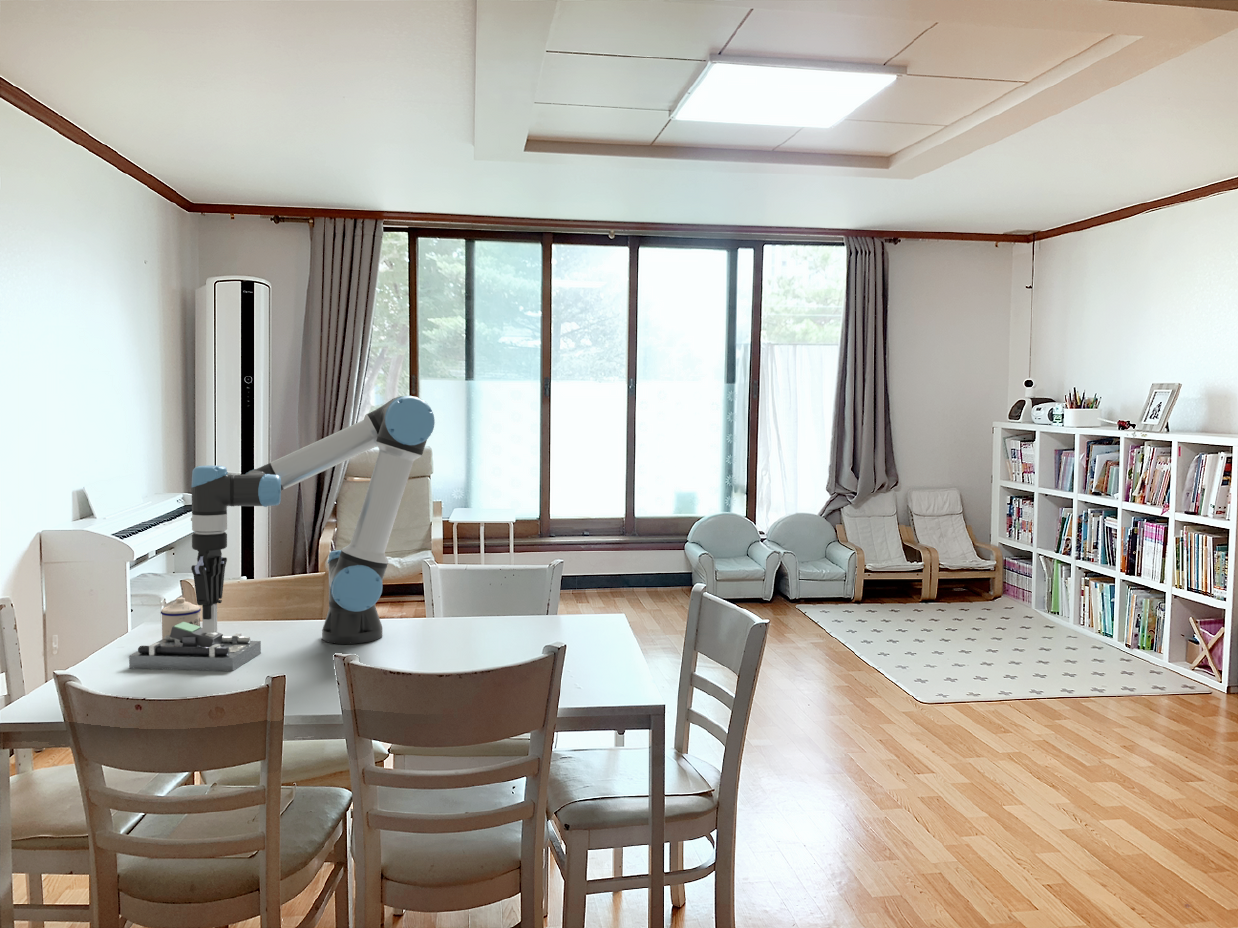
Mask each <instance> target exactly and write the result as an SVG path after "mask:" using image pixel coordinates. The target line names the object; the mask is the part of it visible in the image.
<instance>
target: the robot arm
mask: <svg viewBox="0 0 1238 928" xmlns="http://www.w3.org/2000/svg"><path fill="white" fill-rule="evenodd" d="M363 417H364V418H363V419H362V420H361V421H358V422H357V423H354V424H352V425H349V426H347V427H345V428H342V429H341V430H339V431H336V432H334V433H331V434H330V435H327V436H325V437H323V438H321V439H319V440H317V441H314V442H312V443H310V444H308V445H306V446H304V447H301V448H299V449H297V450H294V451H292V452H290V453H288V454H286V455H284V456H282V457H280V458H277V459H274V460H273V461H270V463H269V462H268V463H267V464H264V465H262V466H261V467H257V468H253V469H251V470H249V471H248V472H246V473H245V474H231V473H228V469H227V467H226V466H224V465H199V466H196V467H194V468H193V469H192V472H191V473H192V475H191V488H190V489H191V518H190V521H191V530H192V531H193V533H192V535H191V548H192V550H195V551H197V552H198V553H197V558H196V561H197V563H196V565H195V564H193V565H191V572H192V575H193V580H194V583H193V584H194V588H195V589H194V590H195V599H196V605H198V606H202V609H201V610H202V611H201V613H202V615H201V616H202V618H201V619H202V626H201V628H202V633H215V632H218V604H221V603H222V602H223V600H222V599H223V592H224V590H223V589H224V581H225V570H226V565H227V562H228V558H227V557H223V554H222V550H225V549H226V548H227V547H228V533H227V532H226V531H227V530H228V509H227V508H228V507H264V508H267V507H272V506H273V507H274V506H275V507H276V506H279V505H280V504H281V501H282V498H281V497H282V491H284V490H285V489H289V488H291V487H292V486H294V485H296V484H299V483H302V482H304V481H305V480H309V478H311V477H313V476H316V475H318V474H320V473H323V472H325V471H327V470H329V469H331V468H333V467H336V466H338V465H339V464H342V463H344V462H346V461H348V460H351V459H352V458H355V457H357V456H360V455H362V454H363V453H365V452H367V451H370V450H372V449H374V448H378V450H379V451H378V455H377V458H376V461H375V463H374V464H375V465H374V468H373V471H372V473H371V478H370V481H369V483H368V486H367V489H366V492H365V495H364V499H363V502H362V505H361V508H360V512H359V515H358V518H357V521H356V524H355V528H354V530H353V533H352V537H351V540H350V543H349V544H348V545H346V546H344V547H342V548H341V549H338V550H336V549H335V550H331V551H330V552H329V554H328V559H327V564H328V611H327V615H326V617H325V620H324V623H323V627H322V630H321V631H322V632H321V639H322V641H324V642H326V643H331V644H335V645H336V644H337V645H339V644H340V645H353V644H354V645H356V644H363V643H369V642H372V641H373V642H374V641H376V640H379V639H380V638H381V639H382V637H383V625H382V621H381V619H380V616H379V614H378V610H377V606H376V603H377V602H379V599H380V598H381V595H382V594H383V587H384V586H383V581H384V577H385V574H386V570H387V567H388V566H389V565H388V564H389V559H388V557H387V556H386V550H387V546H388V544H389V541H390V537H391V534H392V532H393V528H394V524H395V521H396V518H397V515H398V512H399V509H400V506H401V502H402V499H403V496H404V493H405V490H406V486H407V485H408V481H409V477H410V473H411V471H412V468H413V464H414V462H415V461H416V460H417V459H419V458H421V457H423V453H424V451H425V447H426V445H427V442H428V439H429V438H430V437H431V436H432V434H433V431H434V430H435V429H434V428H435V425H436V424H435V423H436V422H435V415H434V412H433V410H432V408H431V406H430V405H429V404H428V403H427V401H425V400H423V399H422V398H419V397H417V396H412V395H401V396H400V395H399V396H396V397H393V398H392V399H390V400H389V401H388V402H385V404H383V405H381V406H380V407H378V408H376V409H375V410H372V411H371V412H369V413H366V414H365V415H364V416H363Z"/></svg>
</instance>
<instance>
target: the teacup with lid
mask: <svg viewBox="0 0 1238 928" xmlns="http://www.w3.org/2000/svg"><path fill="white" fill-rule="evenodd" d="M201 610H202V609H201V606H200V605H198V604H193V603H191V602H190V601H186V598H185V597H177V598H176V600H175V602H173V603H171V604H169V605H168V606H165V607H162V609H161V610H160V614H161V635H162V637H161V640H162V639H164V638H165V636H166V635H170V634H171V630H172V627H174V626H175V625H177V624H180V623H182V622H187V623H190V624H193V625H196V626H200V627H201V613H200V612H202V611H201Z"/></svg>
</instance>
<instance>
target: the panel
mask: <svg viewBox="0 0 1238 928" xmlns="http://www.w3.org/2000/svg"><path fill="white" fill-rule="evenodd" d="M182 639H183V641H182V640H178V639H175V638H172V637H170V635H166V636H165V638H164V639H162V638H161V639H160V640H159V641H156V642H153V643H152V644H150V645H140V646H139V647H137V651H135V652H133V653H131V654H129V655H128V662H129V664H128V665H129V666H128V668H129V669H132V670H133V669H134V670H135V669H141V670H179V671H182V670H183V671H184V670H185V671H213V672H214V671H216V672H217V671H218V672H219V671H223V672H224V671H225V672H234V671H236V670H237V669H239V668H240V667H242V666H244V665H245V664H247V663H248V662H249V661H250V660H253V659H254V658H256V657H257V656H259V655H260V654H261V653H262V652H261V651H262V649H261V645H262V644H261V640H251V637H250V636H242V633H235V634H233V635H231V636H223V637H222V640H221V644H214V645H213V646H211V647H202V646H198V645H197V637H191V636H184V637H182Z"/></svg>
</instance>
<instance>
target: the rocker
mask: <svg viewBox="0 0 1238 928" xmlns="http://www.w3.org/2000/svg"><path fill="white" fill-rule="evenodd" d="M223 635H224V634H223V633H220V632H218V631H217V632H215V633H202V626H201V625H200V626H196V625H193V624H190V623H187V622H182V623H180V624H177V625H175V626H174V627H172V630H171V634H170V637H172V638H175V639H178V640H182V641H183V639H182V637H184V636H191V637H197V645H198V646H202V647H211V646H213V645H214V644H221V640H222V637H223Z"/></svg>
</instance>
